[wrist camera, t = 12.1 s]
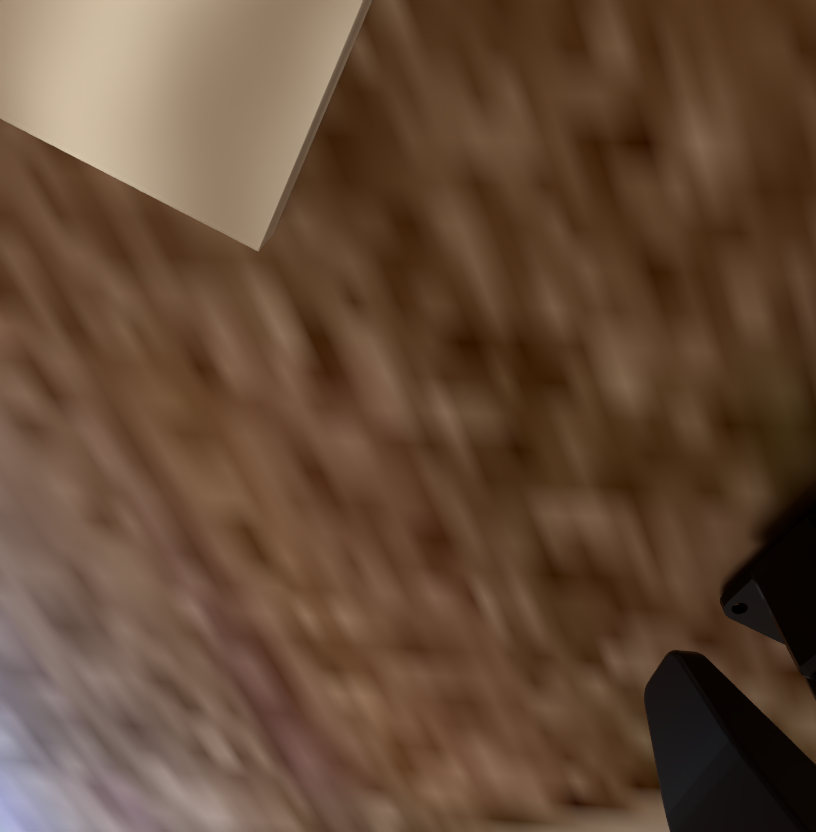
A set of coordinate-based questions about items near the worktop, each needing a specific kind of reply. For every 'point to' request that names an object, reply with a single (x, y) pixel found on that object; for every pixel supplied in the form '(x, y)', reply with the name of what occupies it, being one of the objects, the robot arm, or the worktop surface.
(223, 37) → the plate
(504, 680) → the worktop surface
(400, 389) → the worktop surface
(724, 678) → the robot arm
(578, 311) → the worktop surface
